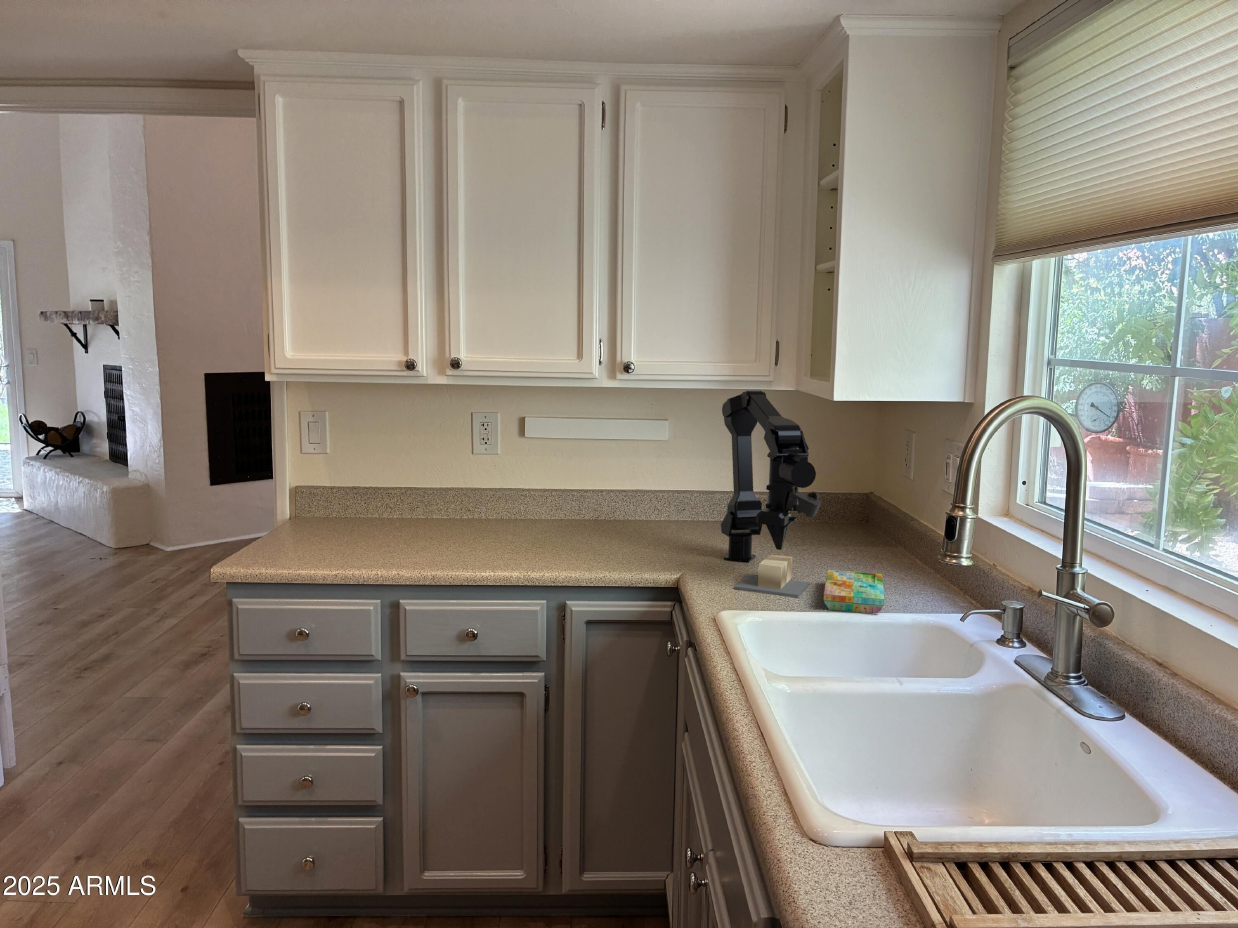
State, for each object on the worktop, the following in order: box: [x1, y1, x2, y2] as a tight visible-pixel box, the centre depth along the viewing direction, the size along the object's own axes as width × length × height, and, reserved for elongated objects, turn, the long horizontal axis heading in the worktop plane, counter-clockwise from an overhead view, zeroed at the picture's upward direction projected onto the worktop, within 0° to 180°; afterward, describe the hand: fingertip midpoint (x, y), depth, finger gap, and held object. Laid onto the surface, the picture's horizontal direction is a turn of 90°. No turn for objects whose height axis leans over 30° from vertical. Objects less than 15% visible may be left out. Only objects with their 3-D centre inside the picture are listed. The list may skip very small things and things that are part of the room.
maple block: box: [757, 553, 794, 589], centre depth 205 cm, size 5×5×10 cm
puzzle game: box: [823, 569, 885, 614], centre depth 195 cm, size 12×5×20 cm
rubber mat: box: [734, 574, 811, 599], centre depth 203 cm, size 11×14×1 cm
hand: (779, 549), depth 206 cm, fingers closed
